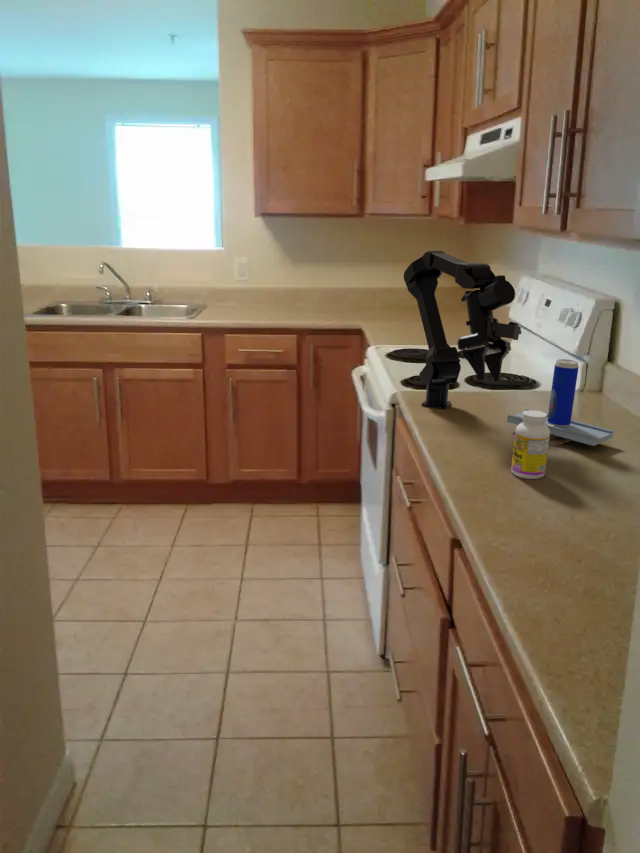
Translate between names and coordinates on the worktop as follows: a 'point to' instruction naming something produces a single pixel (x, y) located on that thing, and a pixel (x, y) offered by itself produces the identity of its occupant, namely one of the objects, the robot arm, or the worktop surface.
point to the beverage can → (562, 392)
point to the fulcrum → (557, 439)
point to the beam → (573, 430)
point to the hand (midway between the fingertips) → (489, 380)
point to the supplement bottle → (531, 446)
